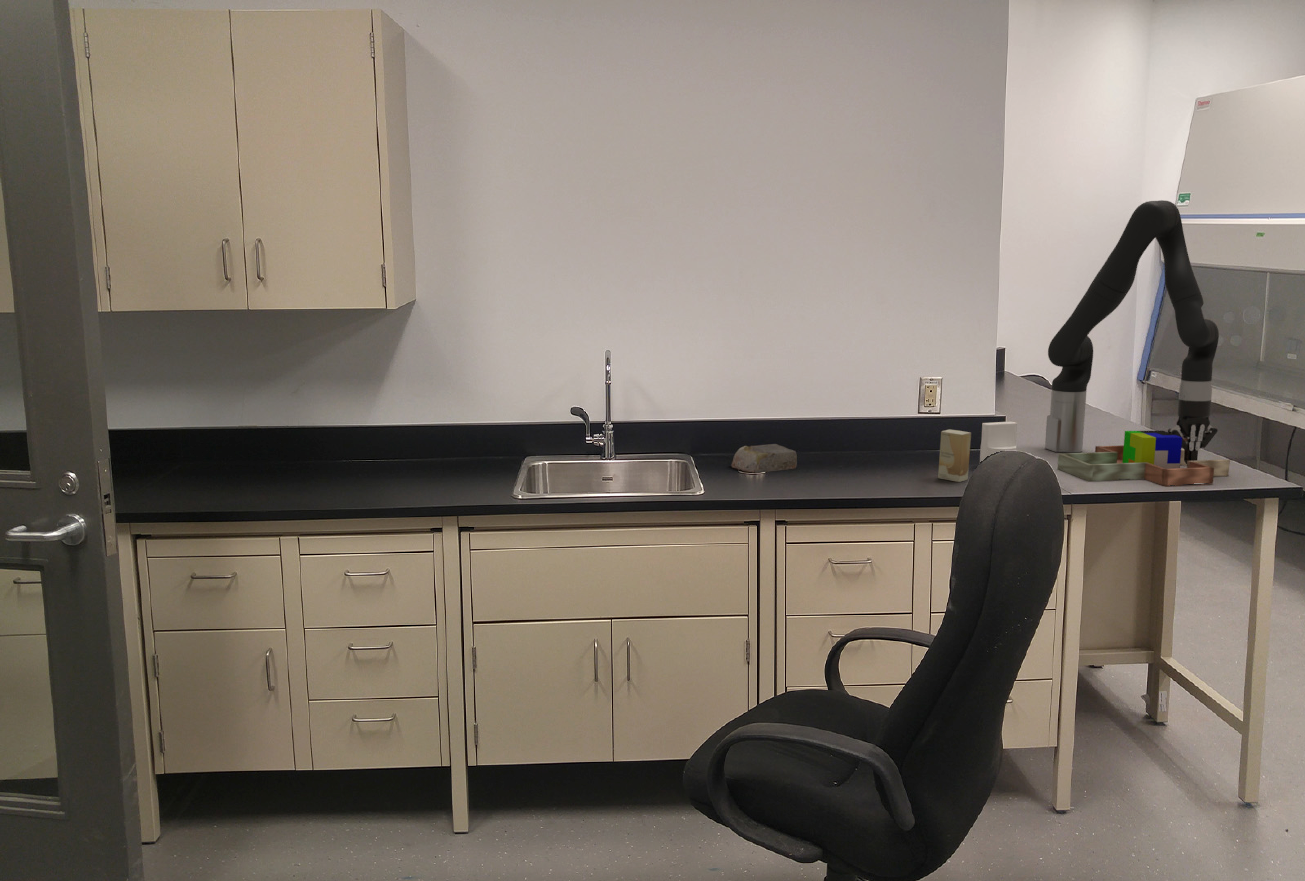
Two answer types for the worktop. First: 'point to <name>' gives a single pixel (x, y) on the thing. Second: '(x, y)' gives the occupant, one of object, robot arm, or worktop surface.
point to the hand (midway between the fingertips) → (1190, 464)
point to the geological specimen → (764, 458)
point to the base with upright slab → (997, 438)
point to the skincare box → (954, 455)
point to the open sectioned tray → (1138, 468)
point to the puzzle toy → (1152, 448)
